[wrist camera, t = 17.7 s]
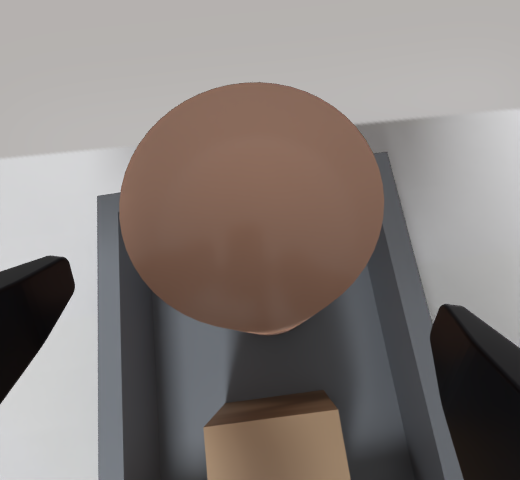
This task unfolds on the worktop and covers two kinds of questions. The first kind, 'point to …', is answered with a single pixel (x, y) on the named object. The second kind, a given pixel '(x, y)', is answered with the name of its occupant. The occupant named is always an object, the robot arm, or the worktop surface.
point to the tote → (270, 366)
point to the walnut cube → (277, 439)
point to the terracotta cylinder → (251, 207)
